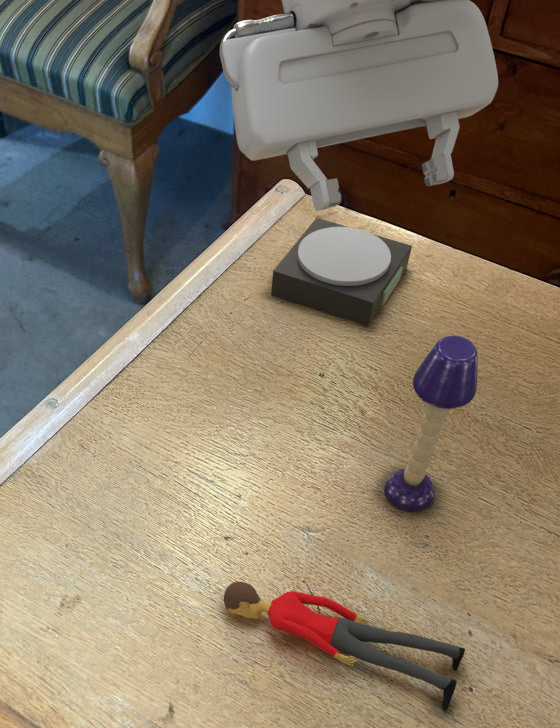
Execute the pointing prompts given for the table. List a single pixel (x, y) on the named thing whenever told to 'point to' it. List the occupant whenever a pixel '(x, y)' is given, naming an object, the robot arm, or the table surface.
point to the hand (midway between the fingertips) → (385, 195)
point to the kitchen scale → (341, 271)
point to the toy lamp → (434, 416)
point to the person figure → (342, 632)
